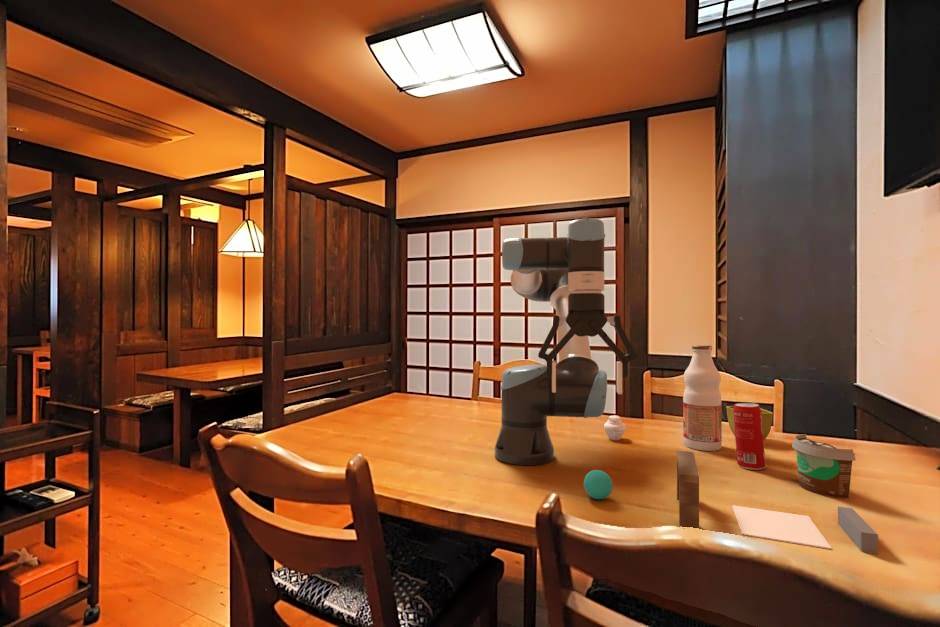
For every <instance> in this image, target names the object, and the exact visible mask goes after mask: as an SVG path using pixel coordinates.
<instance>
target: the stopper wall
mask: <svg viewBox="0 0 940 627" xmlns="http://www.w3.org/2000/svg"><path fill="white" fill-rule="evenodd" d="M837 525H839V527H840V528H841V529H842V530H843V531H844V533H845V534H846V535H847V537H848V538H849V539H850V540H851V541H852V542H853V543H854V545H855V546H856V547H857V549H859V551H861V552H864V553H868V552H869V554H874V553H875V555H878V554H879V545H878V543H879V541H878V540H879V538H878V537H879V536H878V535H879V534H878V533H877V532H876V531H875V530H874V529H873V528H872V527H871V526H870V525H869V524H868V522H866V521H865V520H864V518H862V517H861V515H860V514H858V512H856V511H855V510H854V509H853V507H846V506H845V507H844V506H837Z"/></svg>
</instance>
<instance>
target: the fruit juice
mask: <svg viewBox="0 0 940 627" xmlns="http://www.w3.org/2000/svg"><path fill="white" fill-rule="evenodd" d="M691 350H692V357H691V360H690V362H689V365H688V366H687V368H686V369H685V371H684V373H683V380H684V384H685V388H684V392H683V396H682V404H683V405H682V406H683V407H682V408H683V411H682V412H683V414H682V416H683V419H682V420H683V421H682V422H683V428H682V430H683V434H682V435H683V444H684V446H686V447H687V448H689V449H693V450H697V451H704V452H716V450H717V451H719V450H721V448H722V441H723V440H722V438H723V437H722V436H723V433H722V431H723V429H722V426H723V425H722V422H723V420H722V417H723V416H722V414H723V412H722V408H723V406H722V395H721V392H720V385H721V380H722V378H721V373H720V372H719V370H718V369H717V367H716V365H715V363H714V360H713V357H712V351H713V346H712V345H711V344H693V345H692V347H691Z"/></svg>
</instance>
